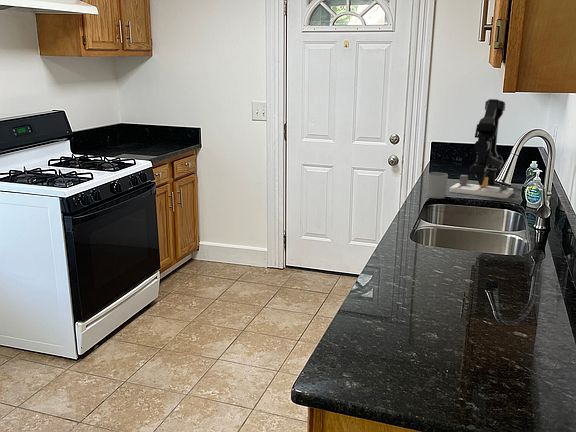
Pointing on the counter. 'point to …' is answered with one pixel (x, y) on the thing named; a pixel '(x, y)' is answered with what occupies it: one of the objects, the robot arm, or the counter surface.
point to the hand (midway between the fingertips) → (480, 185)
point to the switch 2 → (503, 187)
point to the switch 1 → (463, 179)
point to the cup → (437, 185)
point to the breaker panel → (481, 190)
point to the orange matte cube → (485, 182)
